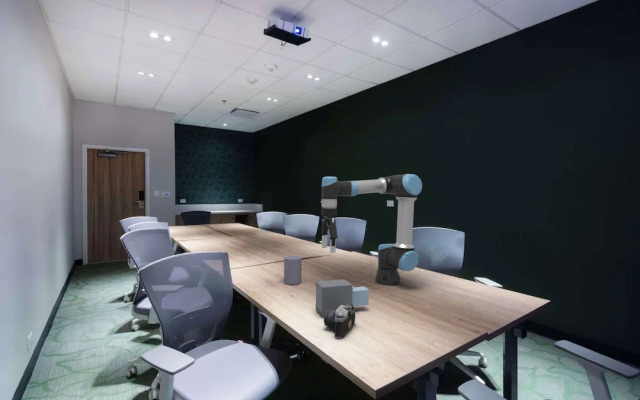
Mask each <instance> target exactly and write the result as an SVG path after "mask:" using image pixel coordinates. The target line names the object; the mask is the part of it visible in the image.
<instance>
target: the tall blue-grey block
mask: <svg viewBox="0 0 640 400" xmlns="http://www.w3.org/2000/svg"><path fill="white" fill-rule="evenodd" d="M369 292H370V289H368V288H367V287H366V286H356V287H355V286H353V291H352V305H353V306H355V307H362V306H363V307H364V306H369V298H370V293H369Z"/></svg>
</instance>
